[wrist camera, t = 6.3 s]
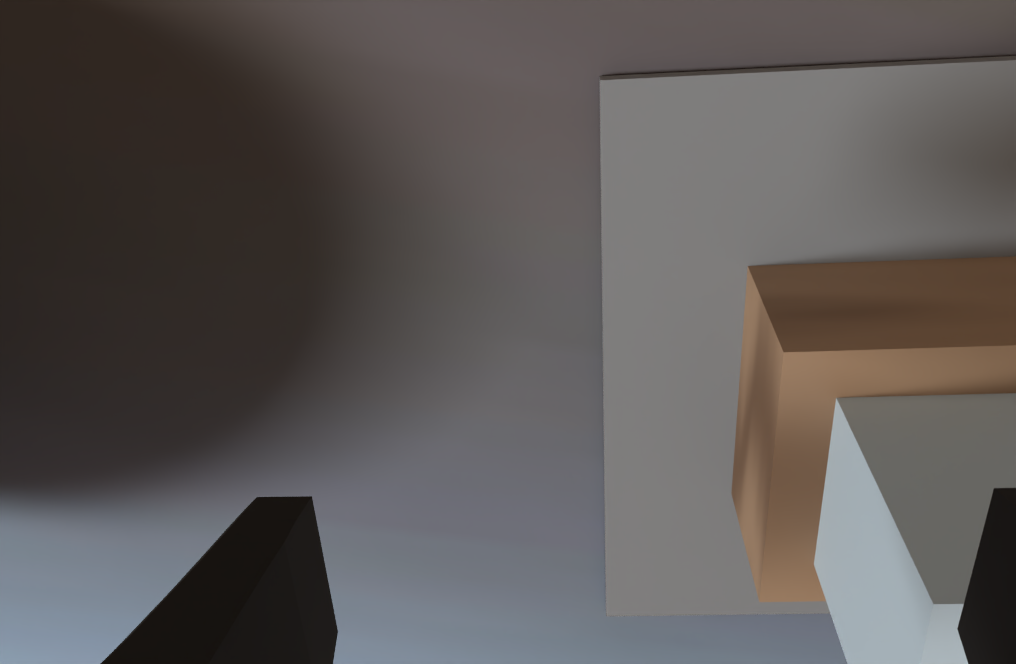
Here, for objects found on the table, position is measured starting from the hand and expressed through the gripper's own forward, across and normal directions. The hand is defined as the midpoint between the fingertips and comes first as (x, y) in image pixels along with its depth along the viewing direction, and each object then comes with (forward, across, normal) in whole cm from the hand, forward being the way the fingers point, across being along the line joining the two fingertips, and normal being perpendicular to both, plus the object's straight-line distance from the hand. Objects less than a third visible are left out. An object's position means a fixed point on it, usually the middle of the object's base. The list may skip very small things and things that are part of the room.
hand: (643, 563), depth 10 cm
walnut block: (+10, -6, +4) cm, 13 cm away
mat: (+10, -6, +4) cm, 13 cm away
